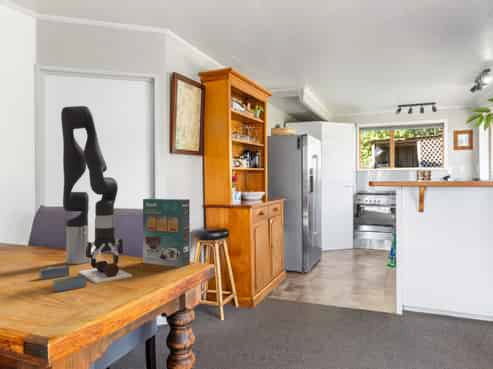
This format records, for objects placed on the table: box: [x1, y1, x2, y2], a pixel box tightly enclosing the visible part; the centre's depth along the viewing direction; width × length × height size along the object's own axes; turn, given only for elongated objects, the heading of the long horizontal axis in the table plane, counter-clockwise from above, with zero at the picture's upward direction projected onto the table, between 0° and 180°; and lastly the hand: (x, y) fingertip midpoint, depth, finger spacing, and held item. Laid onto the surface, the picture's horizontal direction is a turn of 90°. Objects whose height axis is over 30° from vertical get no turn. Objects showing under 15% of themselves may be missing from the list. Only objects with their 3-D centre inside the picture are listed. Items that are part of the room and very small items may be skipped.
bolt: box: [95, 260, 120, 277], centre depth 145 cm, size 6×5×15 cm
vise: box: [38, 265, 87, 293], centre depth 137 cm, size 10×30×4 cm, turn 42°
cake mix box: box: [142, 198, 191, 268], centre depth 166 cm, size 22×6×30 cm, turn 66°
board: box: [78, 268, 133, 284], centre depth 145 cm, size 14×20×1 cm
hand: (104, 266), depth 145 cm, fingers open, 8 cm apart
